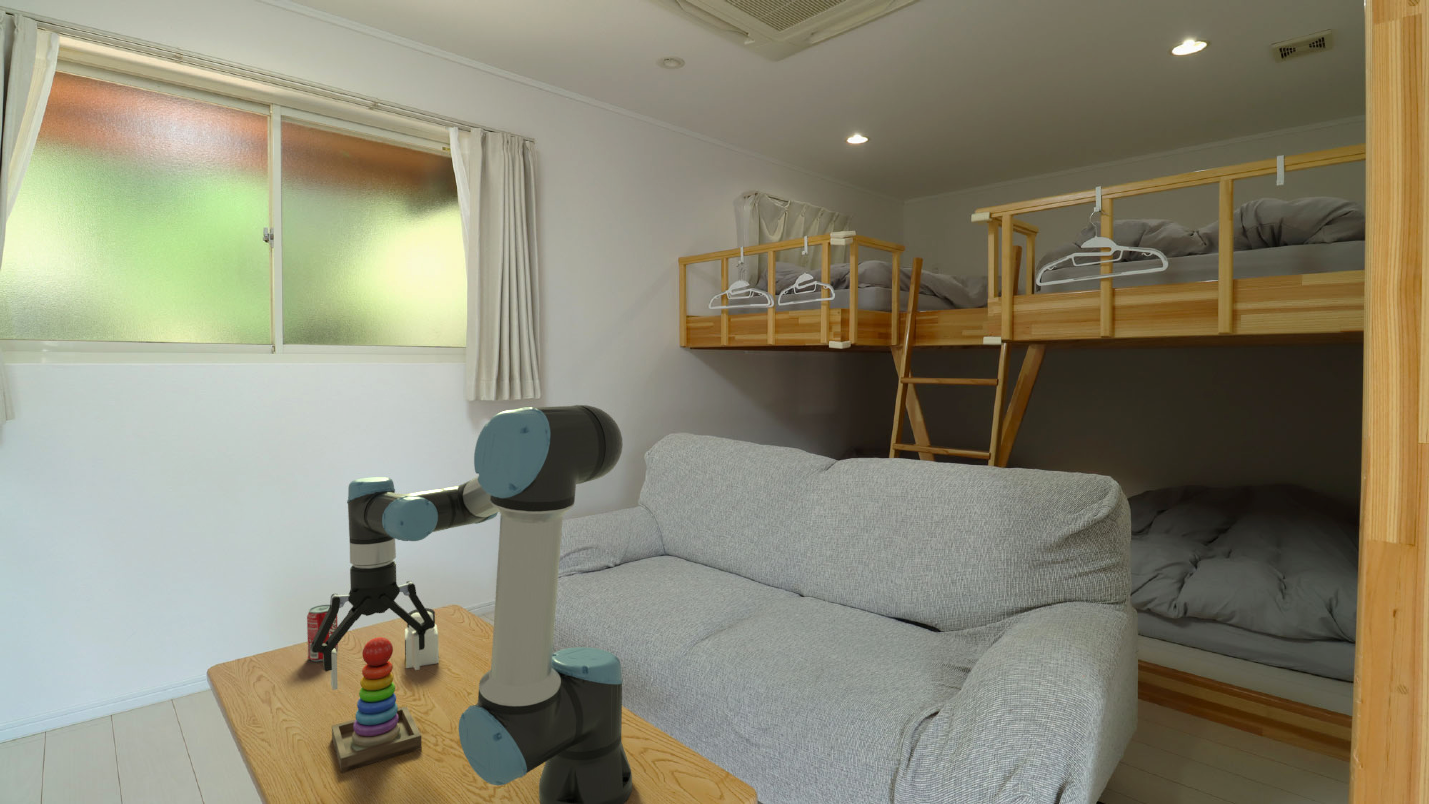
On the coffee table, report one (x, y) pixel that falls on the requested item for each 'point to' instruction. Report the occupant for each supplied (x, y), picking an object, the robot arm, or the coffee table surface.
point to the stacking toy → (376, 697)
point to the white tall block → (431, 642)
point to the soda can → (313, 625)
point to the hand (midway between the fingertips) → (376, 676)
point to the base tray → (361, 756)
